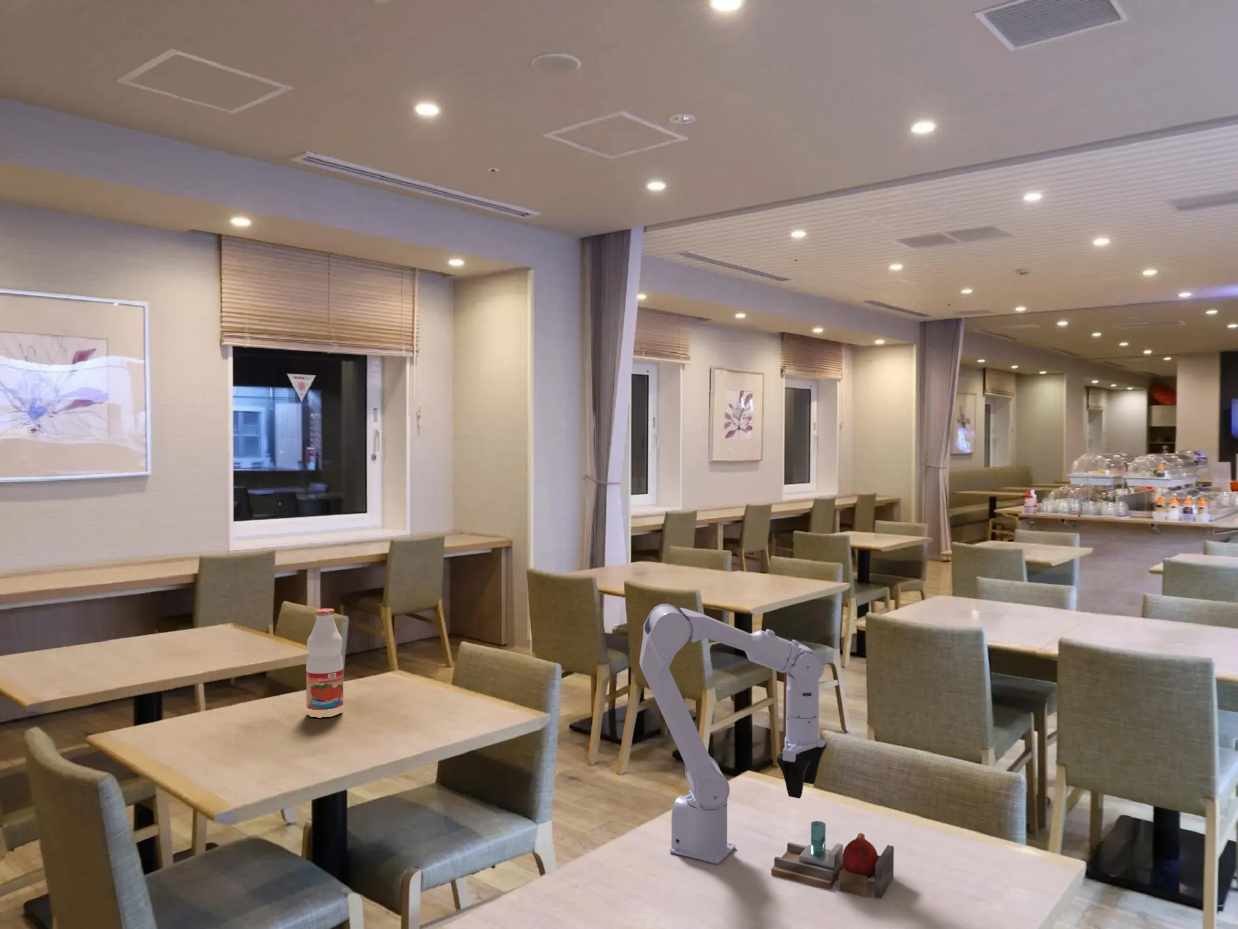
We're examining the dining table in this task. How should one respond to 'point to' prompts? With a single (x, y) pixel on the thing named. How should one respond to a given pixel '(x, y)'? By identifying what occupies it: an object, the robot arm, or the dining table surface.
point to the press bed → (825, 877)
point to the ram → (821, 850)
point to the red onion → (860, 857)
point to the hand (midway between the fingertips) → (801, 789)
